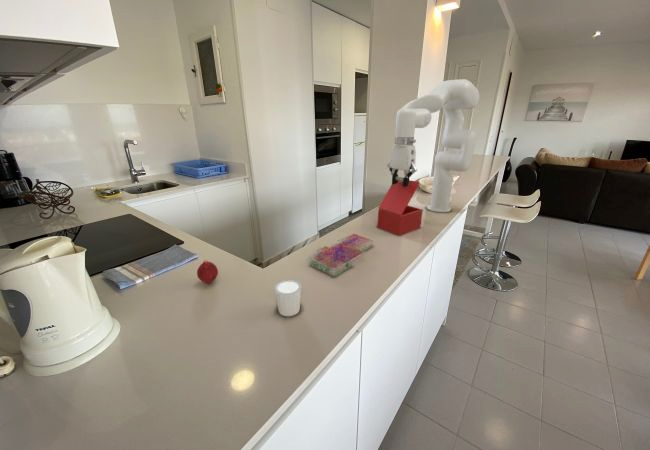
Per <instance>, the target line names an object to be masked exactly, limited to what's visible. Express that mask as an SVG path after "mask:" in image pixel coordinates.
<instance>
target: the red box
mask: <svg viewBox="0 0 650 450" xmlns="http://www.w3.org/2000/svg"><path fill="white" fill-rule="evenodd" d="M377 211H378V212H377V226H376V227H377V228H379V229H381V230H384V231H385V232H388V233H391V234H393V235H396V236H401V235H404V234H407V233H410V232H413V231H414V230H417V229H420V228H421V225H422V217H423V209H422V208H418V207H415V206H411V205H409V204H408V205H407V207H406V209H405V210H404V212H403V214H402V216H400V215H397V214H394V213H391V212H388V211H385V210H382V209H379V208H378V209H377Z"/></svg>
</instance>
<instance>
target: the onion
mask: <svg viewBox="0 0 650 450" xmlns="http://www.w3.org/2000/svg"><path fill="white" fill-rule="evenodd" d="M218 274H219V269H218V267H217V265H216V264H215V263H214V262H211V261H209V260H207V259H203V262H202V263H200V265H198V268H197V271H196V275H197V276H196V277H197V278H198V279H199V280H200V282H203V283H206V284H211V283H212V282H214V281H215V280H216V279H217V277H218Z"/></svg>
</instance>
